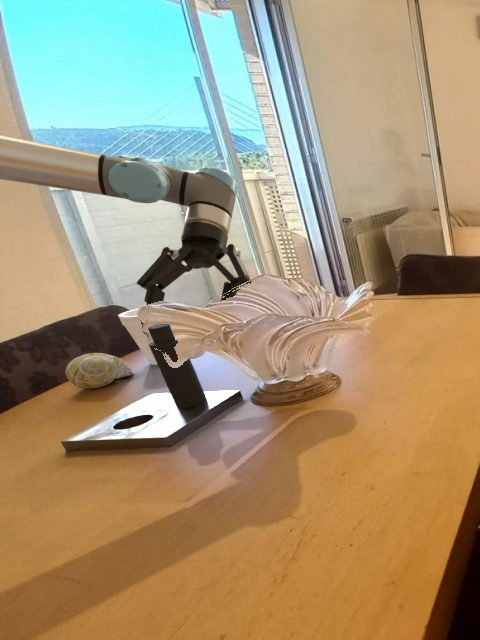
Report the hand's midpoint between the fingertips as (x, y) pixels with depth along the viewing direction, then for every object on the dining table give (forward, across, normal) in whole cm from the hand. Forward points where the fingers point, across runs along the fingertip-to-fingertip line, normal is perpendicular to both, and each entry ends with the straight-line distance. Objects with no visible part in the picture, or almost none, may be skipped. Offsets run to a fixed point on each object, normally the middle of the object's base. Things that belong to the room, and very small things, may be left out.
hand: (188, 314), depth 98 cm
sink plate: (+22, +2, -1) cm, 23 cm away
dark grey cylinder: (+19, -2, -2) cm, 19 cm away
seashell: (+5, +28, -19) cm, 34 cm away
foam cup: (-3, +23, -27) cm, 36 cm away
